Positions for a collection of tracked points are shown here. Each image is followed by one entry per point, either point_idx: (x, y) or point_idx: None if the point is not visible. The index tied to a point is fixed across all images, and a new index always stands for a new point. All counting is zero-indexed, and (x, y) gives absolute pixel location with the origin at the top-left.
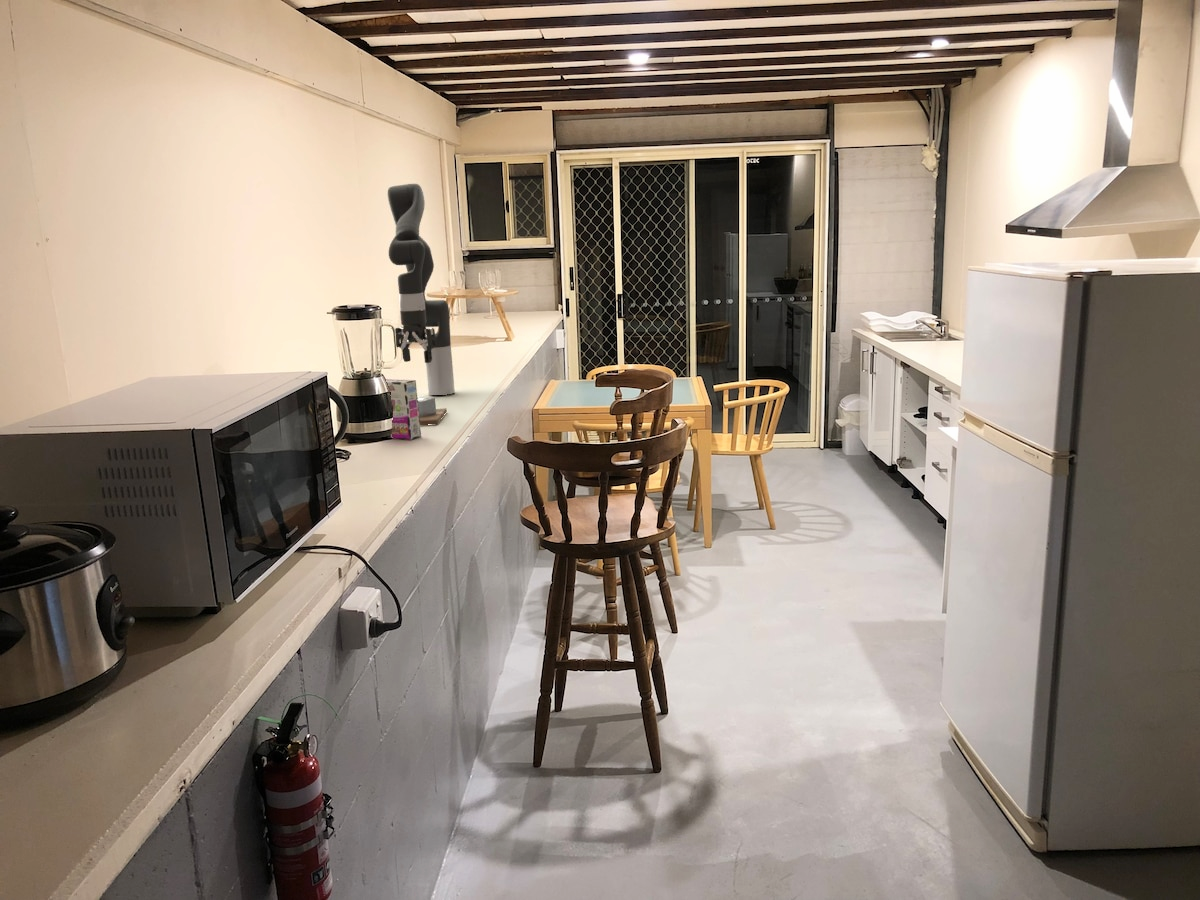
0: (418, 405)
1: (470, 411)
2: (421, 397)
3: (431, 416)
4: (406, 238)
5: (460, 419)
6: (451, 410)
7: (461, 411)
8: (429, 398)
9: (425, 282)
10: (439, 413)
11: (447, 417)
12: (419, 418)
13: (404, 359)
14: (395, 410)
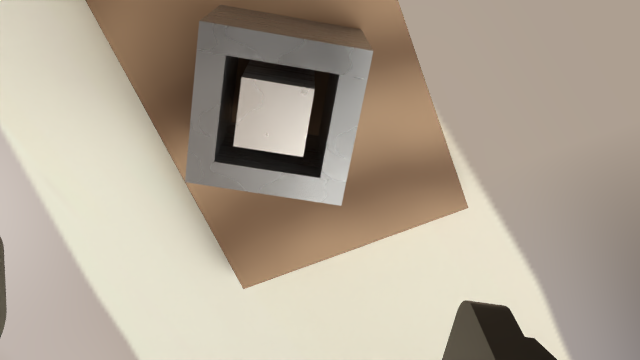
0: (245, 21)
1: (131, 328)
2: (310, 177)
3: (180, 48)
4: None
5: (34, 129)
6: (262, 333)
7: (185, 320)
8: (213, 150)
9: None
10: (187, 146)
11: (160, 166)
12: None
13: (499, 318)
14: None
